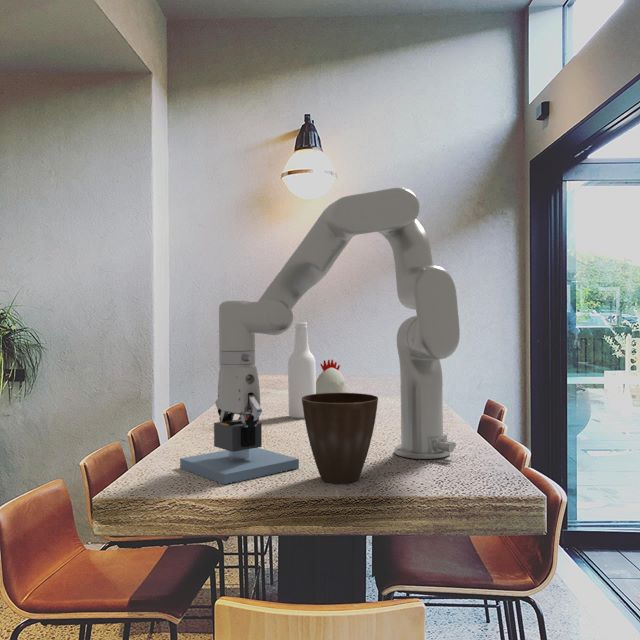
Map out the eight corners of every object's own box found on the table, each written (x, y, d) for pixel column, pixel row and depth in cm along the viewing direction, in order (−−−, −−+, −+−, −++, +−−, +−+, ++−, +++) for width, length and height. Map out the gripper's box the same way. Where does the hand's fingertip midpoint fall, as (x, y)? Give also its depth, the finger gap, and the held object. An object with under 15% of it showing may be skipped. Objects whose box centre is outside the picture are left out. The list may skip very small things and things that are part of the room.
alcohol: (300, 419, 187) (298, 322, 187) (283, 416, 194) (281, 322, 194) (322, 416, 193) (320, 322, 192) (304, 413, 199) (303, 322, 199)
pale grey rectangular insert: (249, 457, 129) (248, 439, 129) (232, 460, 126) (232, 441, 126) (244, 456, 130) (244, 437, 130) (228, 459, 127) (228, 440, 127)
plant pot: (374, 468, 126) (373, 391, 126) (384, 488, 111) (383, 401, 111) (302, 470, 126) (301, 393, 126) (303, 490, 111) (301, 403, 111)
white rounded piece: (307, 397, 240) (307, 359, 240) (338, 394, 246) (338, 357, 246) (322, 401, 228) (322, 361, 228) (355, 398, 234) (354, 359, 234)
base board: (298, 468, 127) (298, 458, 127) (224, 484, 115) (224, 474, 115) (250, 454, 141) (250, 445, 141) (180, 467, 129) (180, 458, 129)
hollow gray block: (261, 446, 128) (261, 422, 128) (232, 451, 123) (232, 426, 123) (242, 441, 133) (242, 418, 133) (214, 446, 128) (213, 421, 128)
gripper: (276, 360, 124) (276, 447, 124) (230, 356, 137) (230, 434, 137) (245, 362, 119) (245, 452, 119) (200, 358, 132) (201, 439, 132)
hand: (237, 442), depth 128 cm, fingers closed on hollow gray block, 7 cm apart
